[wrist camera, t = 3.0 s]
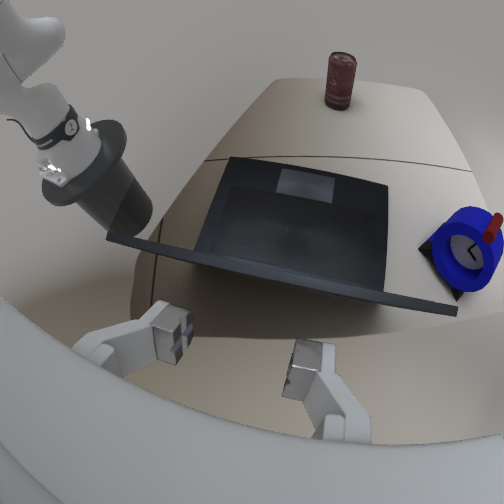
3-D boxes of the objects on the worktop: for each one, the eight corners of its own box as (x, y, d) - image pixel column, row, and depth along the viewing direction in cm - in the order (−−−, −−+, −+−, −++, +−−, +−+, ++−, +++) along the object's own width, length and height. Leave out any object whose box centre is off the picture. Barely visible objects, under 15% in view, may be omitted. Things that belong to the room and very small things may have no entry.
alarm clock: (415, 250, 41) (459, 206, 27) (448, 217, 42) (487, 173, 29) (454, 304, 36) (509, 277, 22) (483, 265, 38) (530, 232, 24)
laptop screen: (107, 230, 22) (105, 240, 22) (458, 305, 16) (456, 316, 16) (191, 257, 42) (190, 262, 42) (382, 298, 37) (381, 304, 37)
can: (342, 114, 54) (350, 65, 41) (319, 103, 56) (323, 55, 44) (354, 105, 56) (363, 58, 43) (332, 94, 58) (338, 48, 45)
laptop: (231, 162, 51) (230, 155, 49) (385, 191, 46) (388, 185, 44) (194, 261, 44) (191, 257, 42) (378, 301, 38) (382, 298, 37)
